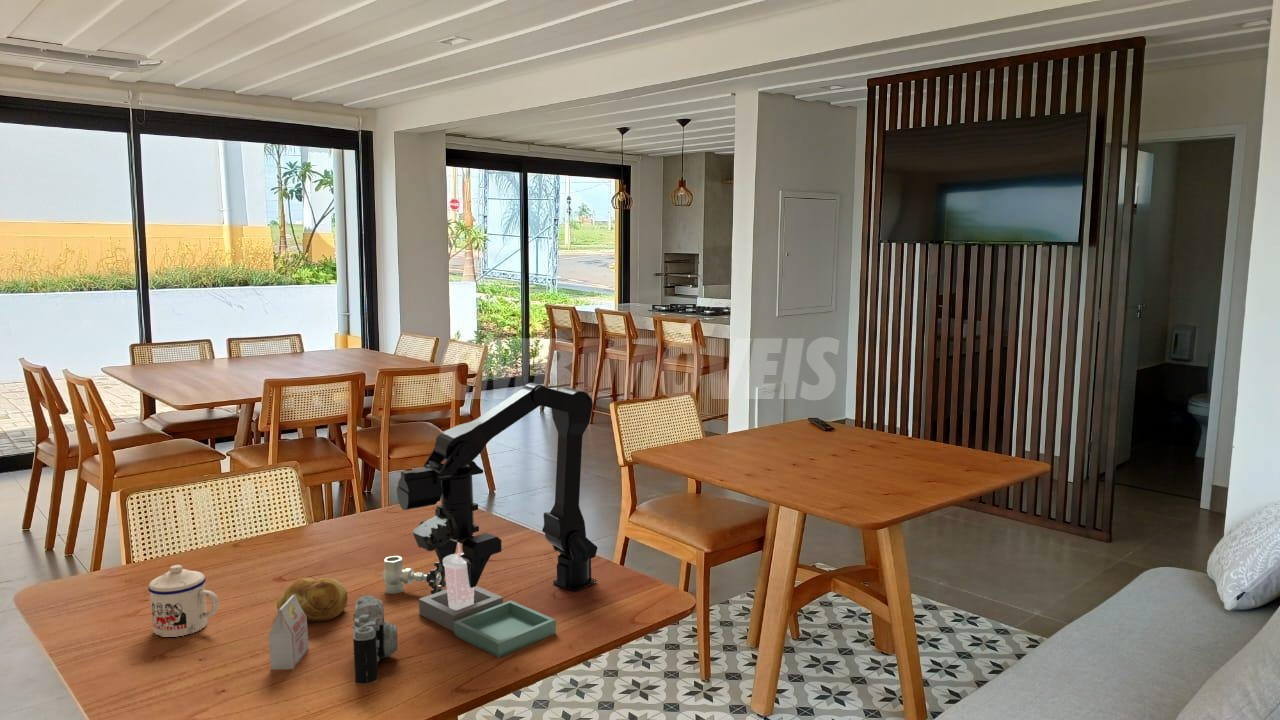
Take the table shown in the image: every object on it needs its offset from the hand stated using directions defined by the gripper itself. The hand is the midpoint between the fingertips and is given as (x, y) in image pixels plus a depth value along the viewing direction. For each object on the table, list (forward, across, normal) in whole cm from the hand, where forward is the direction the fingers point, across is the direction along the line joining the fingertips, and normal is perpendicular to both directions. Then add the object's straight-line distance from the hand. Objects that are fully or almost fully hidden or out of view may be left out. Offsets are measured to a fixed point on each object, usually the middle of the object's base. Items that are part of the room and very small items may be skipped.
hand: (460, 581), depth 163 cm
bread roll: (+6, -20, -19) cm, 28 cm away
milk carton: (+6, -6, -30) cm, 31 cm away
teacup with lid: (+6, -31, -37) cm, 49 cm away
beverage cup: (+5, 0, 0) cm, 5 cm away
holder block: (+6, 0, 0) cm, 6 cm away
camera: (+6, +5, -21) cm, 22 cm away
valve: (+6, -16, 0) cm, 17 cm away
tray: (+6, +13, 0) cm, 14 cm away
